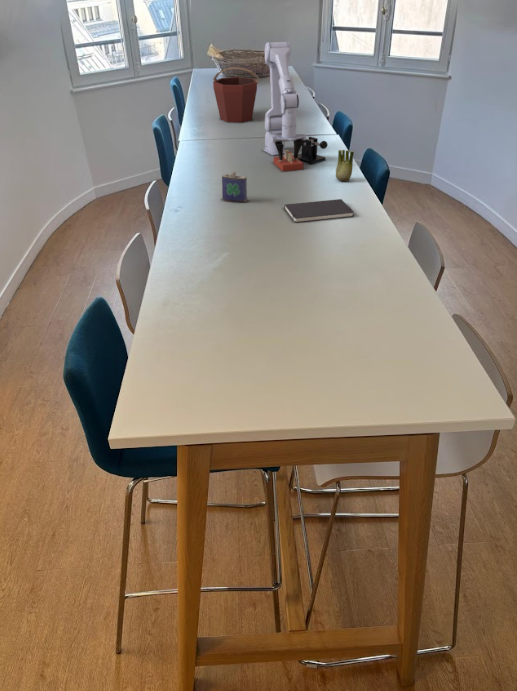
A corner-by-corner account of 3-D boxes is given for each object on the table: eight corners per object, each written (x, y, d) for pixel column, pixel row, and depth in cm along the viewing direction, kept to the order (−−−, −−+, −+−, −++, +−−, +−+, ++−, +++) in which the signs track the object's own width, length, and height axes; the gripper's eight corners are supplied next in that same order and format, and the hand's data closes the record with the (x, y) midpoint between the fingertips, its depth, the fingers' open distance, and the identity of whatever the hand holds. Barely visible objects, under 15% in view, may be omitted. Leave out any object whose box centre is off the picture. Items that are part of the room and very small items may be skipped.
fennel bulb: (352, 180, 226) (355, 150, 219) (345, 184, 223) (347, 152, 216) (340, 177, 229) (343, 147, 222) (333, 180, 226) (335, 149, 219)
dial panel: (273, 162, 245) (273, 156, 243) (293, 160, 247) (293, 154, 245) (282, 171, 235) (282, 165, 234) (303, 169, 238) (303, 162, 236)
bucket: (266, 117, 308) (267, 66, 293) (244, 126, 293) (243, 73, 278) (229, 111, 319) (227, 62, 304) (205, 120, 303) (202, 68, 289)
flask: (247, 200, 209) (247, 171, 203) (245, 203, 207) (244, 174, 201) (223, 198, 211) (222, 169, 205) (221, 200, 209) (219, 171, 203)
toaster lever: (329, 148, 240) (329, 140, 238) (324, 150, 238) (323, 142, 236) (309, 145, 247) (309, 137, 245) (304, 147, 245) (304, 139, 244)
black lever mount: (325, 160, 248) (326, 139, 242) (311, 164, 243) (312, 143, 238) (306, 154, 254) (307, 134, 249) (292, 158, 249) (293, 138, 244)
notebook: (341, 203, 207) (284, 208, 203) (341, 198, 206) (284, 204, 202) (354, 216, 197) (294, 222, 193) (354, 212, 196) (294, 218, 192)
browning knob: (284, 158, 241) (284, 149, 239) (288, 158, 242) (288, 149, 240) (288, 161, 238) (288, 152, 236) (291, 161, 238) (292, 152, 236)
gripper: (275, 129, 227) (274, 163, 235) (309, 126, 230) (307, 159, 238) (269, 124, 232) (269, 158, 240) (303, 121, 236) (301, 155, 244)
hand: (288, 158), depth 239 cm, fingers open, 6 cm apart
